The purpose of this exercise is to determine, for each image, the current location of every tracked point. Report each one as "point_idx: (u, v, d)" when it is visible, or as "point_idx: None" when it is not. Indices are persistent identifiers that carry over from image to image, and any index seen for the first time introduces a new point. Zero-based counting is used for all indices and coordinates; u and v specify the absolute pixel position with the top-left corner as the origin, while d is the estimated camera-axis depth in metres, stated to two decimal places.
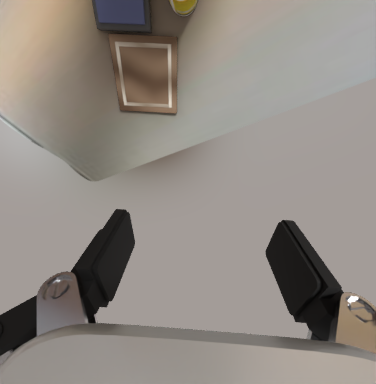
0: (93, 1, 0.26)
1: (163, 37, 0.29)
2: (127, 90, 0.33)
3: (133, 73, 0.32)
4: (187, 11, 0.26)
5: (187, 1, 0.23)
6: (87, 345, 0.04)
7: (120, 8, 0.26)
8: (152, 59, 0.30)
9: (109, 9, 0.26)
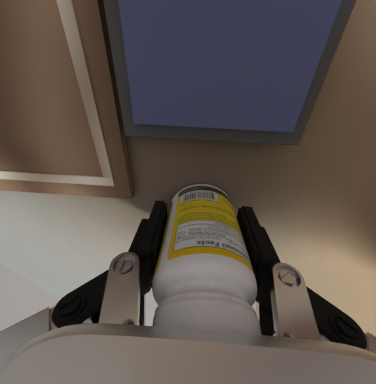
0: None
1: (123, 169, 0.10)
2: None
3: None
4: None
5: None
6: (87, 345, 0.04)
7: (165, 15, 0.06)
8: (63, 130, 0.09)
9: None
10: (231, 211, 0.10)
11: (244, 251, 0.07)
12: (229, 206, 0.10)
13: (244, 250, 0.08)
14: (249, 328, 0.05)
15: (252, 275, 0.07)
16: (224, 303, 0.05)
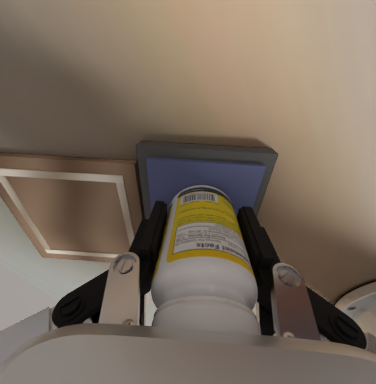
0: (184, 152, 0.11)
1: None
2: (32, 181, 0.13)
3: (75, 200, 0.14)
4: None
5: None
6: (87, 345, 0.04)
7: None
8: (111, 234, 0.16)
9: (170, 188, 0.12)
10: (232, 212, 0.10)
11: (244, 254, 0.07)
12: (229, 207, 0.10)
13: (244, 253, 0.07)
14: (249, 333, 0.05)
15: (253, 278, 0.07)
16: (223, 308, 0.05)
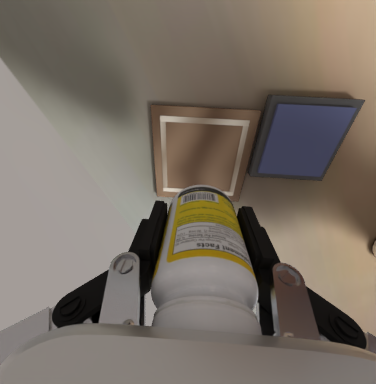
0: (303, 99, 0.16)
1: (240, 188, 0.23)
2: (183, 126, 0.19)
3: (207, 142, 0.20)
4: None
5: None
6: (87, 345, 0.04)
7: (282, 143, 0.18)
8: (220, 172, 0.22)
9: (286, 126, 0.17)
10: (232, 212, 0.10)
11: (245, 254, 0.07)
12: (230, 207, 0.10)
13: (245, 253, 0.07)
14: None
15: (253, 278, 0.07)
16: (224, 308, 0.05)
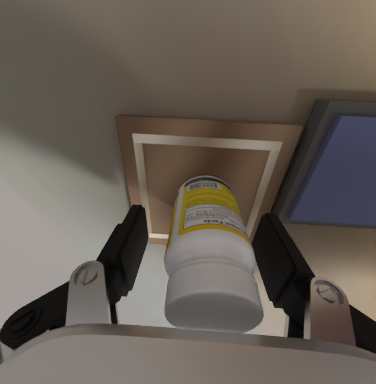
0: None
1: None
2: (171, 149, 0.12)
3: (210, 173, 0.12)
4: None
5: None
6: (87, 345, 0.04)
7: (335, 180, 0.11)
8: None
9: (348, 154, 0.10)
10: (233, 199, 0.11)
11: (244, 230, 0.09)
12: (230, 194, 0.11)
13: (244, 229, 0.09)
14: (248, 285, 0.06)
15: (251, 248, 0.08)
16: (227, 265, 0.06)
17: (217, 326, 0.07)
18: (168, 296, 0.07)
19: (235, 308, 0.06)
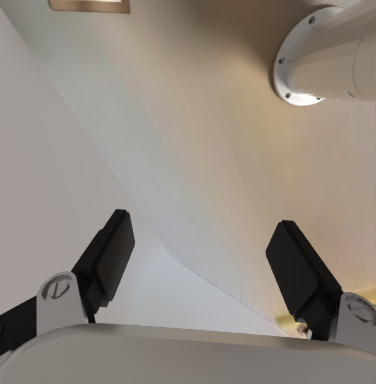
0: None
1: None
2: None
3: None
4: None
5: None
6: (87, 345, 0.04)
7: None
8: None
9: None
10: None
11: None
12: None
13: None
14: None
15: None
16: None
17: None
18: None
19: None
